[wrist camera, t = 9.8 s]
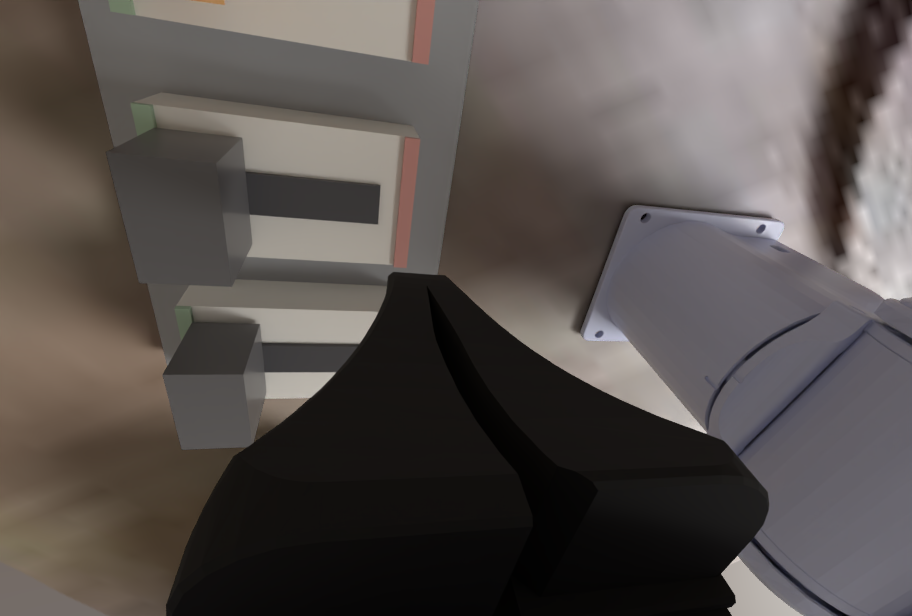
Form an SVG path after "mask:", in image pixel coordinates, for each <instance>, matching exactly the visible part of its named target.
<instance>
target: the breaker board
mask: <svg viewBox="0 0 912 616" xmlns="http://www.w3.org/2000/svg"><path fill="white" fill-rule="evenodd" d="M78 3H79V7H80V11H81V15H82V19H83V23H84V27H85V31H86V35H87V39H88V44H89V48H90V52H91V56H92V60H93V64H94V68H95V72H96V76H97V80H98V85H99V89H100V93H101V97H102V101H103V105H104V109H105V113H106V117H107V121H108V125H109V130H110V134H111V138H112V142H113V146H114V148H113V149H111V150H109V151H107V152H106V155H107V159H108V163H109V167H110V171H111V175H112V179H113V183H114V186H115V190H116V194H117V198H118V202H119V206H120V210H121V214H122V218H123V222H124V226H125V230H126V234H127V237H128V241H129V245H130V249H131V253H132V257H133V261H134V265H135V269H136V273H137V277H138V281H139V283H147V285H148V289H149V293H150V297H151V302H152V306H153V310H154V314H155V318H156V322H157V326H158V330H159V334H160V338H161V342H162V347H163V351H164V355H165V359H166V363H167V368H166V370H165V371H164V373H163V379H164V383H165V386H166V390H167V394H168V398H169V402H170V406H171V410H172V414H173V418H174V422H175V426H176V430H177V434H178V437H179V441H180V445H181V449H182V450H190V449H215V448H240V447H248V446H250V445H251V444H252V443H254V440H255V436H256V432H257V428H258V424H259V420H260V416H261V412H262V408H263V404H264V400H265V399H279V398H311V397H312V396H313V395H314V394H315V393H317V392H318V391H319V390H320V389H321V388H322V387H323V386H324V385H325V384H326V383H327V382H328V381H329V380H330V379H331V378H332V377H333V376H334V374H335V373H336V372H337V371H338V370H339V369H340V368H341V367H342V365H343V364H344V363H345V362H346V361H347V360H348V358H349V357H350V356H351V355H352V353H353V352H354V351H355V349H356V348H357V347H358V345H359V344H360V342H361V341H362V339H363V338H364V336H365V335H366V333H367V332H368V330H369V328H370V326H371V325H372V323H373V321H374V320H375V318H376V316H377V314H378V312H379V310H380V307H381V305H382V303H383V301H384V298H385V295H386V289H387V280H388V275H390V274H391V273H392V272H404V273H417V274H431V275H438V269H439V262H440V256H441V249H442V242H443V236H444V229H445V222H446V216H447V209H448V203H449V196H450V189H451V183H452V176H453V169H454V163H455V156H456V149H457V143H458V136H459V130H460V123H461V116H462V110H463V103H464V96H465V90H466V83H467V76H468V70H469V63H470V57H471V50H472V43H473V37H474V30H475V23H476V17H477V10H478V3H479V0H224V3H225V5H221V4H213V3H206V2H199V1H192V0H78Z"/></svg>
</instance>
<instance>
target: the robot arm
mask: <svg viewBox="0 0 912 616" xmlns="http://www.w3.org/2000/svg"><path fill="white" fill-rule="evenodd" d="M645 213H646V217H645V218H644V219H643V220H641V217H642V215H644V214H645ZM758 227H759V228H758ZM757 228H758V229H757ZM783 229H784V223H783V222H782V221H779V220H777V219H770V218H760V217H751V216H741V215H731V214H721V213H711V212H702V211H692V210H682V209H672V208H662V207H652V206H643V205H633V206H631V207H629V208H628V209H627V210H626V212H625V213H624V216H623V218H622V221H621V224H620V227H619V229H618V232H617V235H616V237H615V240H614V243H613V245H612V248H611V251H610V253H609V256H608V259H607V262H606V264H605V267H604V270H603V272H602V275H601V278H600V280H599V283H598V286H597V288H596V291H595V294H594V296H593V299H592V302H591V305H590V307H589V310H588V313H587V315H586V318H585V321H584V323H583V326H582V329H581V336H582V337H583V339H585V340H587V341H630V343H631V344H632V345H633V346H634V347H635V348H636V350H637V351H638V352H639V353H640V354H641V356H642V357H643V358H644V359H645V360H646V361H647V363H648V364H649V365H650V366H651V367H652V368H653V370H654V371H655V372H656V373H657V374H658V376H659V377H660V378H661V379H662V380H663V381H664V383H665V384H666V385H667V386H668V387H669V388H670V390H671V391H672V392H673V393H674V394H675V396H676V397H677V398H678V399H679V400H680V401H681V403H682V404H683V405H684V406H685V407H686V408H687V410H688V411H689V412H690V413H691V414H692V416H693V417H694V418H695V419H696V420H697V421H698V423H699V424H700V425H701V426H702V427H703V428H704V430H705V431H706V432H707V434H705V433H702V432H699V431H696V430H694V429H691V428H688V427H686V426H683V425H680V424H677V423H675V422H672V421H669V420H667V419H664V418H661V417H659V416H656V415H654V414H651V413H649V412H647V411H645V410H642V409H640V408H638V407H635V406H633V405H631V404H629V403H626V402H624V401H622V400H620V399H618V398H615V397H613V396H611V395H609V394H607V393H605V392H603V391H601V390H599V389H597V388H595V387H593V386H591V385H590V384H588V383H586V382H584V381H582V380H580V379H579V378H577V377H575V376H573V375H571V374H569V373H568V372H566V371H564V370H563V369H561V368H559V367H558V366H556V365H554V364H553V363H551V362H550V361H548V360H547V359H545V358H544V357H542V356H541V355H539V354H538V353H536V352H534V351H533V350H531V349H530V348H529V347H527V346H526V345H524V344H523V343H522V342H520V341H519V340H518V339H517V338H515V337H514V336H513V335H511V334H510V333H509V332H508V331H506V330H505V329H504V328H503V327H501V326H500V325H499V324H498V323H497V322H495V321H494V320H493V319H492V318H491V317H490V316H489V315H487V314H486V313H485V312H484V311H483V310H482V309H481V308H480V307H479V306H477V305H476V304H475V303H474V302H473V301H472V300H471V299H470V298H469V297H468V296H467V295H466V294H465V293H464V292H463V291H462V290H461V289H459V288H458V287H457V286H456V285H455V284H454V283H453V282H452V281H451V280H450V279H449V278H447V277H446V276H445V275H431V274H417V273H404V272H392V273H391V274H390V275H388V280H387V289H386V295H385V298H384V301H383V303H382V305H381V307H380V310H379V312H378V314H377V316H376V318H375V320H374V321H373V323H372V325H371V326H370V328H369V330H368V332H367V333H366V335H365V336H364V338H363V339H362V341H361V342H360V344H359V345H358V347H357V348H356V349H355V351H354V352H353V353H352V355H351V356H350V357H349V358H348V360H347V361H346V362H345V363H344V364H343V365H342V367H341V368H340V369H339V370H338V371H337V372H336V373H335V374H334V376H333V377H332V378H331V379H330V380H329V381H328V382H327V383H326V384H325V385H324V386H323V387H322V388H321V389H320V390H319V391H318V392H317V393H315V394H314V395H313V396H312V397H311V398H310V399H309V400H307V401H306V402H305V403H304V404H303V405H302V406H301V407H300V408H298V409H297V410H296V411H295V412H294V413H293V414H292V415H290V416H289V417H288V418H287V419H285V420H284V421H283V422H282V423H280V424H279V425H278V426H276V427H275V428H273V429H272V430H271V431H269V432H268V433H266V434H265V435H264V436H262V437H261V438H259V439H258V440H257V441H255V442H254V443H252V444H251V445H250V446H248V447H247V448H245V449H244V450H243V451H241V452H240V453H238V454H237V455H235V456H234V457H233V458H232V460H231V461H230V463H229V465H228V466H227V468H226V470H225V471H224V473H223V475H222V476H221V478H220V480H219V481H218V483H217V485H216V486H215V488H214V490H213V492H212V494H211V495H210V497H209V499H208V501H207V503H206V505H205V507H204V508H203V510H202V512H201V515H200V517H199V519H198V521H197V523H196V525H195V527H194V529H193V531H192V534H191V536H190V538H189V541H188V543H187V545H186V548H185V551H184V554H183V557H182V560H181V563H180V566H179V569H178V572H177V575H176V578H175V581H174V584H173V587H172V590H171V593H170V596H169V598H168V601H167V604H166V616H732V615H731V614H730V612H729V611H728V609H727V608H729V607H732V606H733V605H734V604H735V603H736V600H735V595H734V593H733V592H732V590H731V588H730V587H729V585H728V584H727V582H726V581H725V579H724V578H723V576H722V575H721V573H722V572H723V571H724V570H725V569H726V568H727V566H728V565H729V564H730V563H731V562H732V561H733V560H734V559H735V558H736V557H737V556H738V557H739V558H740V559H741V560H742V561H743V563H744V564H745V565H746V566H747V567H748V568H749V569H750V571H751V572H752V573H753V574H754V575H755V576H756V577H757V578H758V579H759V580H760V581H761V582H762V583H763V584H764V585H765V586H766V587H767V588H768V589H769V590H771V591H772V592H773V593H774V594H775V595H776V596H778V597H779V598H780V599H781V600H783V601H784V602H785V603H786V604H788V605H789V606H790V607H792V608H793V609H795V610H796V611H798V612H799V613H800V614H802V615H804V616H912V298H904V299H901V300H900V301H899V300H896V299H892V298H890V299H886V300H884V299H883V298H882V297H881V296H880V295H878V294H877V293H875V292H873V291H872V290H870V289H868V288H866V287H864V286H862V285H860V284H858V283H857V282H855V281H853V280H851V279H849V278H847V277H845V276H843V275H841V274H839V273H837V272H835V271H833V270H832V269H830V268H828V267H826V266H824V265H822V264H820V263H818V262H816V261H814V260H812V259H810V258H808V257H807V256H805V255H803V254H801V253H799V252H797V251H795V250H793V249H791V248H789V247H787V246H785V245H784V244H782V243H780V242H778V241H777V240H778V238H779V237H780V235H781V233H782V232H783ZM598 331H599V333H597V334H596V332H598Z"/></svg>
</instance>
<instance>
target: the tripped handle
mask: <svg viewBox="0 0 912 616" xmlns="http://www.w3.org/2000/svg"><path fill="white" fill-rule="evenodd" d="M192 1H199V2H206V3H213V4H221V5H225V3H224V0H192Z"/></svg>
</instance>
